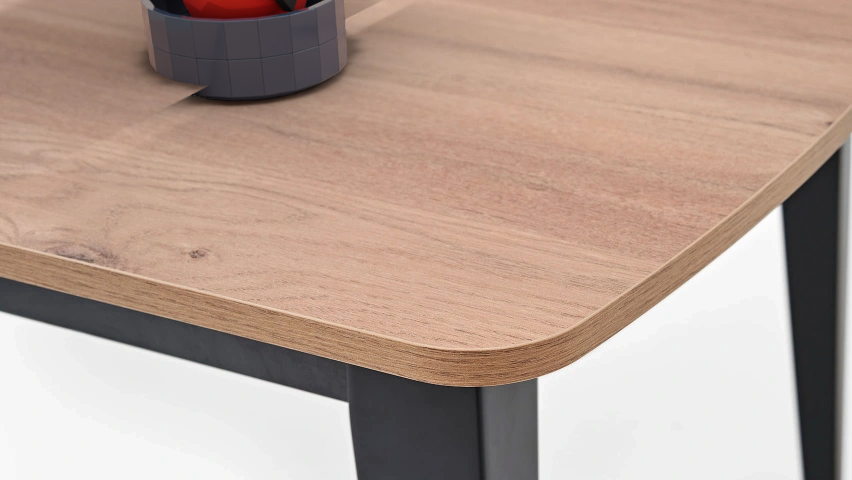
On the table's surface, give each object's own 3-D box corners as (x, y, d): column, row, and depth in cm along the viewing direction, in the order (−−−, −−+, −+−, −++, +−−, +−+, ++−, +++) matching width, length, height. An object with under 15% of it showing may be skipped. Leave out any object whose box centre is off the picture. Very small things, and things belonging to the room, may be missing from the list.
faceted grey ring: (112, 85, 87) (98, 4, 84) (234, 30, 98) (226, -44, 95) (271, 118, 81) (263, 32, 79) (383, 56, 92) (379, -22, 89)
